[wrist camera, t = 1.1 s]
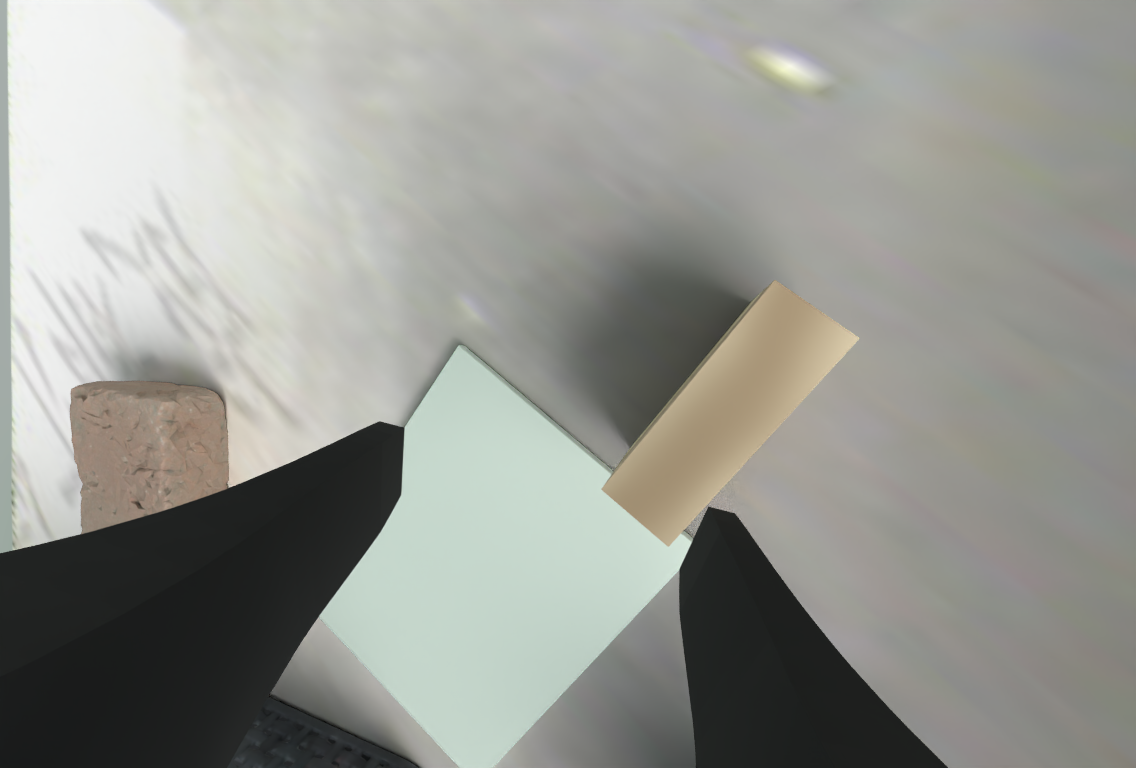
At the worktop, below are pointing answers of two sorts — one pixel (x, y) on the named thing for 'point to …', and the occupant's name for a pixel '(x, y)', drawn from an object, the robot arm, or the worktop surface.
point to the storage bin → (305, 744)
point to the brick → (145, 448)
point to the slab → (727, 410)
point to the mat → (494, 567)
